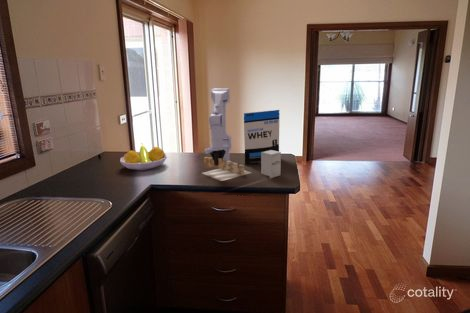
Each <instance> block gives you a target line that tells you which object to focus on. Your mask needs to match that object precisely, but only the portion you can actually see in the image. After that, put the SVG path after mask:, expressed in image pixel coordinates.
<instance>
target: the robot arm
mask: <svg viewBox="0 0 470 313" xmlns="http://www.w3.org/2000/svg"><path fill="white" fill-rule="evenodd" d="M230 95H231V93H230V88H229V87H227V88H211V89H210V98H211V101H212V102H213V105H212V106H211V113H210V115H209V117H208V124H209V130H210V138H211V139H210V140H211V141H210V142H211V147H207V148H205V149H204V151H203V153H204V154H206V155H207V154H210V156H211V158H213V161H214V164H215V165H216V166H218V158H222V160H223V159H225V160H226V164H227V161H231V160H230V150H231V149H232V136H231V135H230V134H229V133H227V116H226V112H227V111H226V109H227V105H228V104H229V103H230V101H231V97H230ZM214 164H213V165H214Z"/></svg>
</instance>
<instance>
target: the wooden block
mask: <svg viewBox="0 0 470 313" xmlns="http://www.w3.org/2000/svg"><path fill="white" fill-rule="evenodd" d="M203 162H204V167H205V168H211V169H212V168H214V169H221V168H223V165H222V158H218V166H216V165H215V164H214V161H213V158H212V156H211V157H209V156H205V157H203Z"/></svg>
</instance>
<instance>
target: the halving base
mask: <svg viewBox="0 0 470 313" xmlns="http://www.w3.org/2000/svg"><path fill="white" fill-rule="evenodd" d="M222 165H223V168H221V169H218V168H215V169H212V170H208V171H205V172H204V171H203V172H201V174H203V175H205V176H206V177H210V178H212V179H215V180H217V181H220V182H224V181H226V180H228V181H229V180H232V179H234V178H237V177H242V176H245V175H248V174H252V173H253V172H251V171H248V170H245V164H239V165H238V163H237V162H234V161H231V160H230V161H227V164H226V160H225V159H223V160H222Z"/></svg>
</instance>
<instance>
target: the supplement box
mask: <svg viewBox="0 0 470 313" xmlns="http://www.w3.org/2000/svg"><path fill="white" fill-rule="evenodd" d="M281 157H282V152H281V151H279V152H278V151H273V150H269V151H265V152H261V164H260V168H261V170H260V171H261V172H260V174H262V175H263V176H267V178H268V179H273V178H275V177H276V178H277V177H279V176H281V172H282V171H281V165H282V164H281V163H282V162H281V160H282V158H281Z"/></svg>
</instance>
